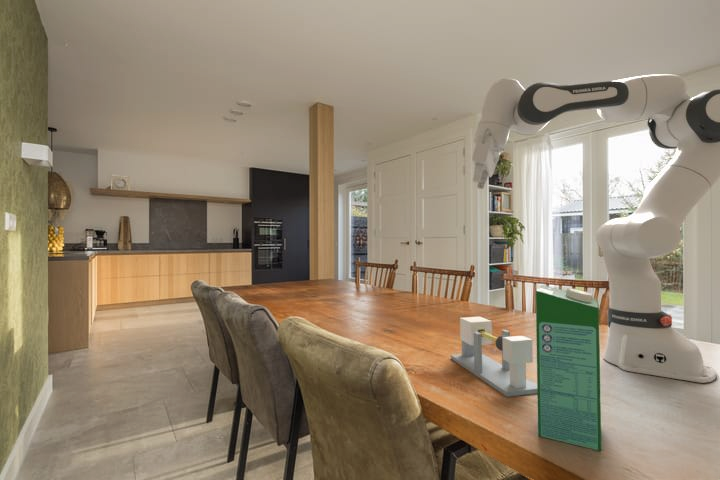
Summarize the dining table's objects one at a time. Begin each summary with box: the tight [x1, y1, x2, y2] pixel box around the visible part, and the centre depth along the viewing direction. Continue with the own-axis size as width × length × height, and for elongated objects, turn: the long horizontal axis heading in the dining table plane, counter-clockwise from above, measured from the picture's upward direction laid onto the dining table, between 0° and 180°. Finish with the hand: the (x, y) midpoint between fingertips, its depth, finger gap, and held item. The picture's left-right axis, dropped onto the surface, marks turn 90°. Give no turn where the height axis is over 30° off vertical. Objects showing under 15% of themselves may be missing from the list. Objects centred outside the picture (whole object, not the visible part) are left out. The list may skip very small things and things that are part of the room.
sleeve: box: [459, 315, 493, 346], centre depth 99 cm, size 6×6×6 cm
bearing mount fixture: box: [450, 329, 537, 398], centre depth 92 cm, size 26×9×12 cm, turn 12°
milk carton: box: [535, 284, 602, 452], centre depth 64 cm, size 9×9×25 cm
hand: (478, 185), depth 105 cm, fingers open, 8 cm apart
